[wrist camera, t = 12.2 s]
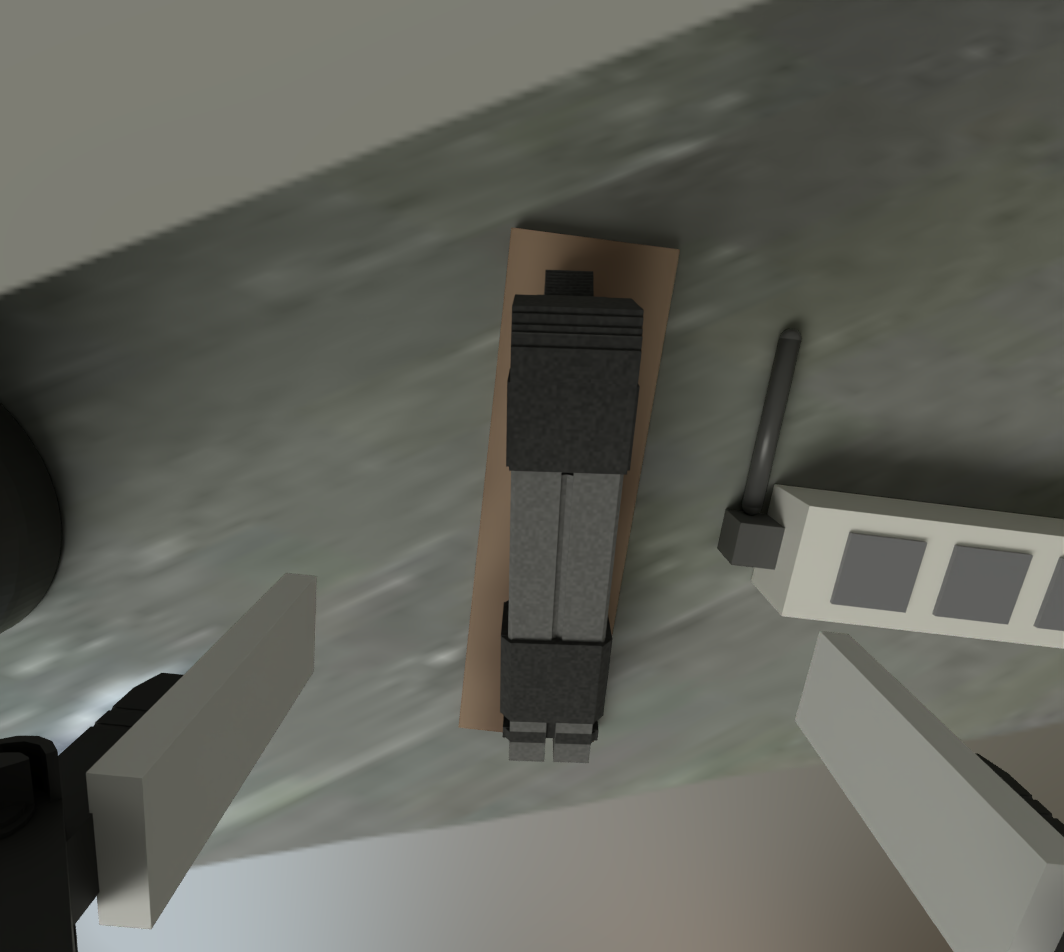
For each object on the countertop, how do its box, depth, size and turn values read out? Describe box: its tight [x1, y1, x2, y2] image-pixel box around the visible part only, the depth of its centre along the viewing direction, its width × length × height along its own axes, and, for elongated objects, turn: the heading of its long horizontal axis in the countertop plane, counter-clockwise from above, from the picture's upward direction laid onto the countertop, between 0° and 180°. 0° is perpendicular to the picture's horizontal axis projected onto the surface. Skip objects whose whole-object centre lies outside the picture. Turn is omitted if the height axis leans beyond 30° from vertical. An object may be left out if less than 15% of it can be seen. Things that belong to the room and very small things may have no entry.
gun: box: [500, 270, 644, 763], centre depth 24 cm, size 4×20×10 cm, turn 178°
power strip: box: [717, 329, 1064, 648], centre depth 24 cm, size 18×12×4 cm, turn 83°
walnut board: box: [459, 228, 680, 742], centre depth 26 cm, size 7×24×1 cm, turn 173°
